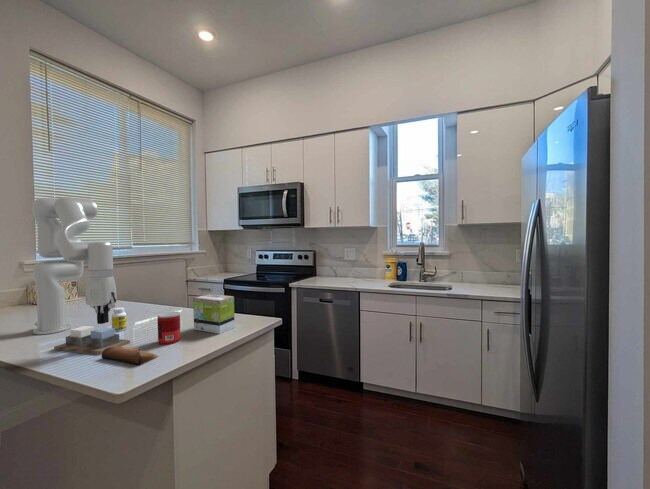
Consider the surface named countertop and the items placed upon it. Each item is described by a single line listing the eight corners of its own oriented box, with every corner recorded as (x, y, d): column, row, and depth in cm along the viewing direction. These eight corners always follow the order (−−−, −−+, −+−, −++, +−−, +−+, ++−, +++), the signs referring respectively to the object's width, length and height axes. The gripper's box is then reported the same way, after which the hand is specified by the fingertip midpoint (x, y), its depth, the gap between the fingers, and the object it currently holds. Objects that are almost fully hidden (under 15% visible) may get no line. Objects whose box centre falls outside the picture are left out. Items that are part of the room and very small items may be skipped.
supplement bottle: (119, 332, 133) (118, 310, 132) (109, 331, 134) (108, 309, 134) (129, 328, 138) (128, 307, 138) (119, 328, 139) (118, 306, 139)
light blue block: (90, 340, 112) (90, 331, 112) (104, 336, 117) (104, 327, 117) (101, 341, 111) (101, 332, 111) (114, 337, 116) (114, 328, 116)
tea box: (193, 330, 133) (192, 297, 133) (209, 324, 143) (208, 293, 142) (220, 334, 128) (219, 299, 127) (235, 327, 137) (234, 295, 137)
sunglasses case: (161, 355, 105) (152, 342, 101) (146, 373, 99) (136, 360, 96) (124, 350, 111) (114, 337, 107) (108, 366, 105) (97, 353, 102)
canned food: (184, 339, 122) (184, 312, 122) (168, 345, 115) (168, 317, 114) (170, 337, 125) (169, 310, 124) (153, 343, 117) (152, 315, 117)
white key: (70, 338, 115) (70, 329, 114) (84, 334, 120) (84, 325, 119) (81, 339, 113) (80, 330, 113) (94, 335, 118) (94, 326, 118)
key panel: (54, 349, 112) (53, 338, 112) (86, 339, 124) (86, 329, 124) (100, 354, 107) (100, 342, 107) (130, 343, 118) (129, 332, 118)
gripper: (75, 275, 112) (77, 324, 112) (107, 275, 108) (109, 326, 108) (95, 273, 119) (97, 319, 119) (126, 273, 115) (127, 321, 115)
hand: (103, 322), depth 114 cm, fingers closed
